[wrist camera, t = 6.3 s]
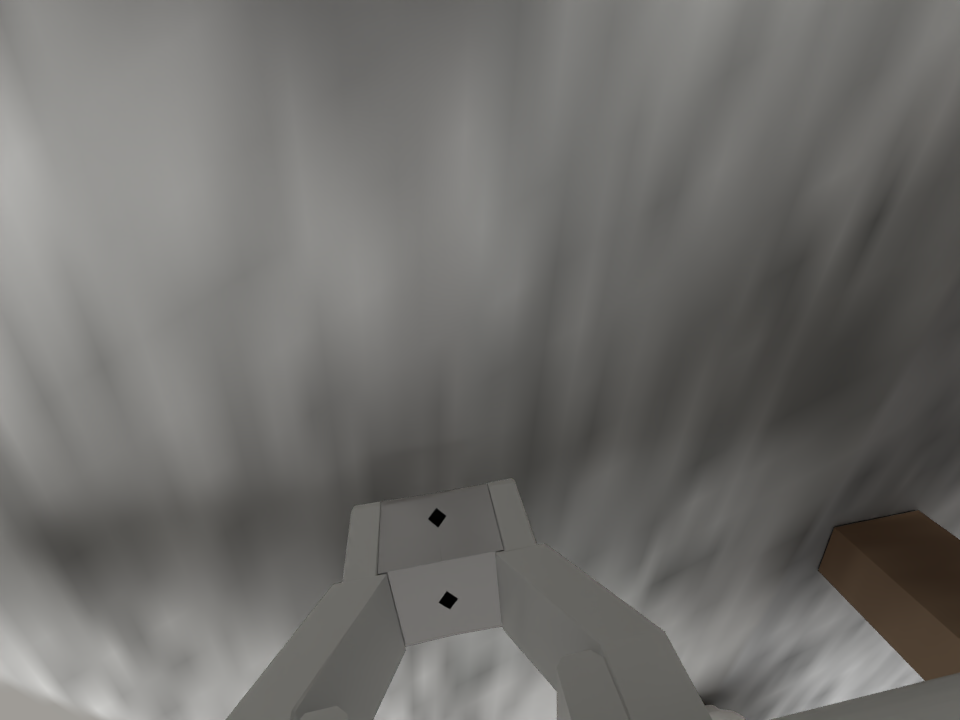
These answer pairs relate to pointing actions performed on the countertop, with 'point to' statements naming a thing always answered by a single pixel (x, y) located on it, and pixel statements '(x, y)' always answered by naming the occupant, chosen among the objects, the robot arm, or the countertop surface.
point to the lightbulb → (723, 714)
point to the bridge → (902, 585)
